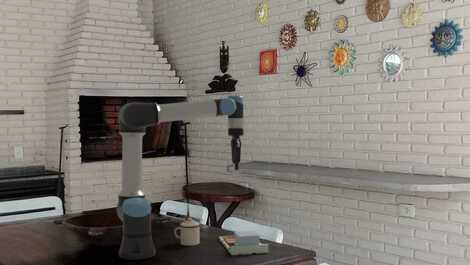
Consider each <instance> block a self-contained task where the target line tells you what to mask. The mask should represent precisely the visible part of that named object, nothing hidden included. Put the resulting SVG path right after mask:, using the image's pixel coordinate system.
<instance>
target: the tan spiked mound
mask: <svg viewBox="0 0 470 265" xmlns="http://www.w3.org/2000/svg"><path fill="white" fill-rule="evenodd" d="M186 205H187V211H186V217H185V220H184V222H185V221H187V220H188V218H191V216H190V209H189V208H190V207H189V205H190V204H189V203H187V204H186ZM203 226H204V224H200V227H203Z"/></svg>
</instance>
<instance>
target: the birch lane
mask: <svg viewBox="0 0 470 265" xmlns="http://www.w3.org/2000/svg"><path fill="white" fill-rule="evenodd" d="M232 238H234V235H224V236H223V235H221V236H218V239H220V240H219V241H220V242H221V243H222V245H223V246H224V248H226V250H227V251H228V252H229V253H230V255H231V246H230V245H229V243H227V242H226V240H225V239H232ZM259 244H262V243H261V242H260V241H259Z"/></svg>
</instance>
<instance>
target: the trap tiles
mask: <svg viewBox="0 0 470 265" xmlns="http://www.w3.org/2000/svg"><path fill="white" fill-rule="evenodd" d="M224 241H225V242H226V241H227V242H226V243H227V244H235V243H234V238H232V239H224Z"/></svg>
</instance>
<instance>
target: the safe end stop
mask: <svg viewBox="0 0 470 265" xmlns="http://www.w3.org/2000/svg"><path fill="white" fill-rule="evenodd" d="M230 248H231V254H230V255H231V256H240V255H239V254H241V255H252V253H256V254H265V253H266V254H268V253H269V244H268V243H261V244H257V245H242V246H235V245H231V246H230Z"/></svg>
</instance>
